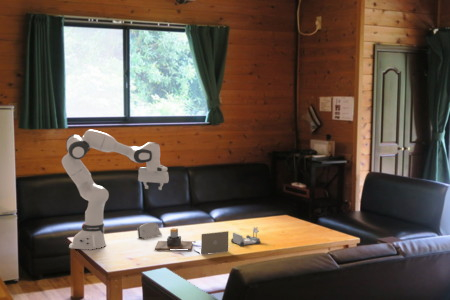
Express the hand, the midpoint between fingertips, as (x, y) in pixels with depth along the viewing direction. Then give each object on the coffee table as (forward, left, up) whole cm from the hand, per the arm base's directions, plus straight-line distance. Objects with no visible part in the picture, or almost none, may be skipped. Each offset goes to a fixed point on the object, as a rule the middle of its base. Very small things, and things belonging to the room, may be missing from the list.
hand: (153, 189), depth 386 cm
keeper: (+14, -8, -35) cm, 39 cm away
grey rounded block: (-6, +20, -36) cm, 41 cm away
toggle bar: (+14, -8, -34) cm, 37 cm away
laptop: (+37, -16, -36) cm, 54 cm away
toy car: (+60, +5, -36) cm, 70 cm away
